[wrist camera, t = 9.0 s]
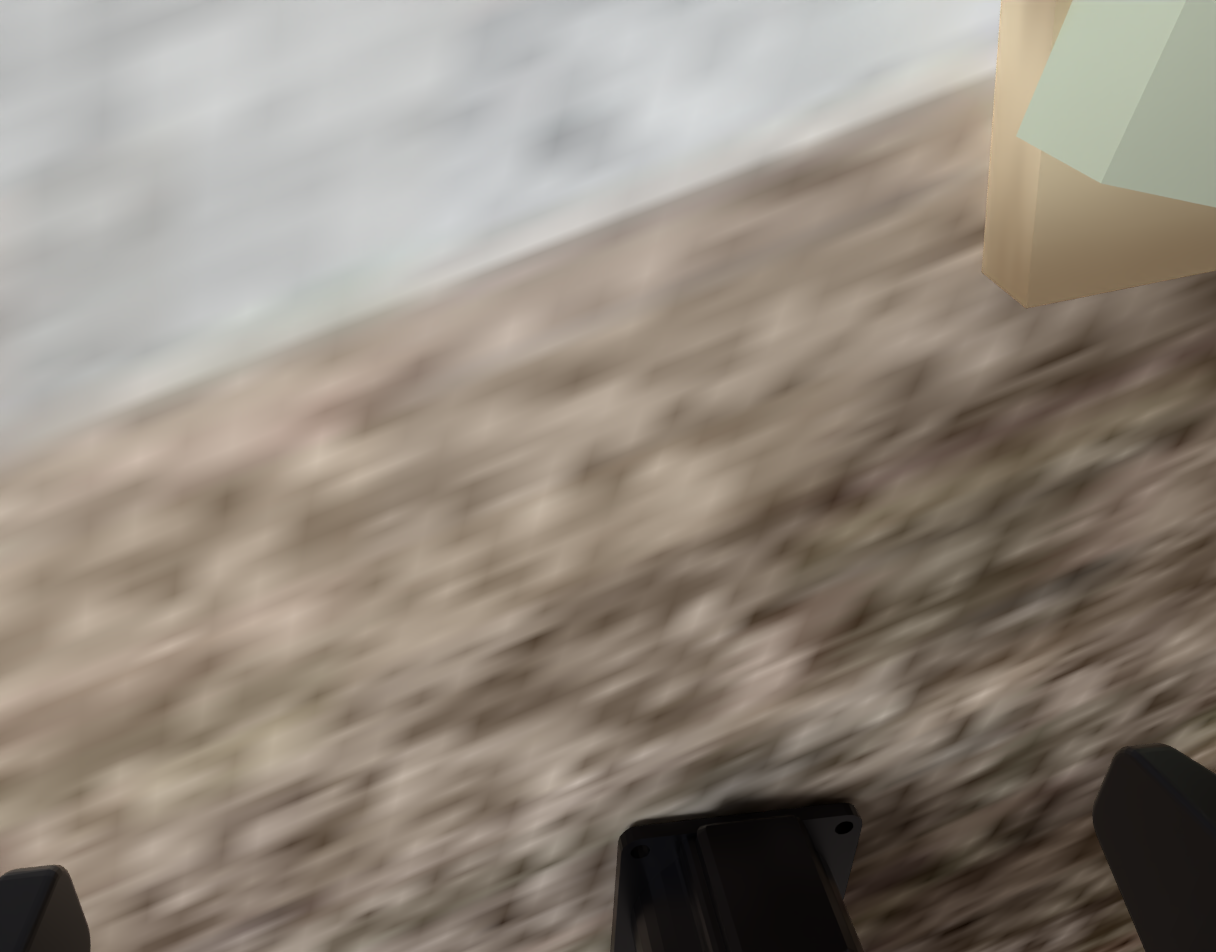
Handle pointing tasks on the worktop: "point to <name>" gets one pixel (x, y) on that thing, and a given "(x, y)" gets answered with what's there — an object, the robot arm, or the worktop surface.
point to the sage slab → (1132, 96)
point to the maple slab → (1071, 196)
